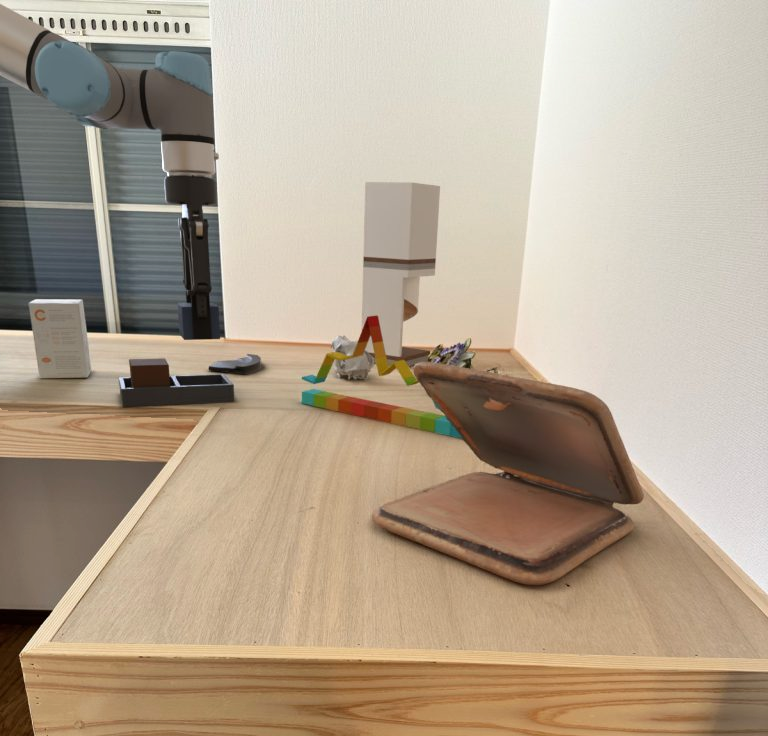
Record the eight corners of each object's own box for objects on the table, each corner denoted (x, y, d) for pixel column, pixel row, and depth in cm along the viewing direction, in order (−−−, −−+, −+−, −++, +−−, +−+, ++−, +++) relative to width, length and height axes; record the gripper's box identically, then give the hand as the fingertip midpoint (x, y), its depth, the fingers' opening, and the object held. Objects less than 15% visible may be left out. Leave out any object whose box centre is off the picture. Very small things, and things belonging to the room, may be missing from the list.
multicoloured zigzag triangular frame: (476, 434, 105) (485, 328, 99) (465, 439, 102) (474, 330, 97) (314, 400, 121) (314, 307, 115) (301, 403, 118) (301, 308, 113)
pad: (220, 339, 115) (218, 306, 113) (183, 340, 113) (181, 306, 111) (214, 334, 120) (213, 302, 118) (179, 334, 118) (177, 302, 116)
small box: (92, 371, 135) (83, 298, 130) (87, 378, 130) (79, 302, 125) (44, 371, 133) (34, 298, 129) (38, 379, 128) (27, 302, 123)
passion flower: (433, 425, 129) (411, 364, 131) (487, 410, 132) (465, 351, 134) (453, 402, 119) (429, 336, 120) (511, 387, 122) (487, 322, 123)
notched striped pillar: (403, 367, 151) (412, 182, 138) (360, 360, 156) (365, 182, 143) (429, 360, 160) (440, 186, 147) (388, 354, 165) (394, 185, 152)
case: (646, 528, 74) (676, 371, 68) (540, 597, 59) (566, 404, 53) (481, 478, 87) (493, 342, 81) (359, 525, 72) (363, 362, 66)
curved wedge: (277, 363, 149) (276, 355, 149) (245, 375, 137) (245, 366, 137) (240, 360, 152) (240, 352, 151) (206, 371, 140) (206, 362, 139)
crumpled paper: (345, 370, 132) (325, 318, 136) (335, 397, 140) (316, 347, 144) (384, 365, 135) (364, 314, 139) (372, 392, 143) (353, 343, 147)
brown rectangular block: (133, 397, 113) (131, 365, 111) (131, 390, 118) (128, 359, 116) (171, 396, 115) (168, 364, 113) (167, 388, 120) (165, 358, 118)
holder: (122, 407, 112) (121, 389, 111) (120, 394, 119) (118, 377, 118) (234, 401, 118) (233, 384, 117) (225, 389, 125) (224, 373, 124)
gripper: (226, 174, 101) (233, 344, 109) (206, 179, 117) (214, 326, 126) (170, 171, 98) (182, 345, 107) (158, 177, 114) (169, 327, 123)
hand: (199, 335), depth 116 cm, fingers closed on pad, 6 cm apart
